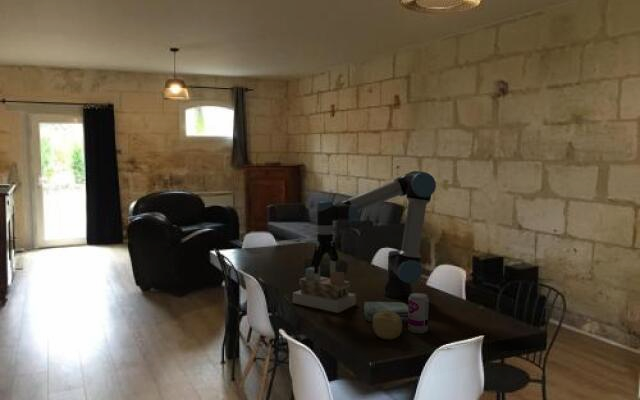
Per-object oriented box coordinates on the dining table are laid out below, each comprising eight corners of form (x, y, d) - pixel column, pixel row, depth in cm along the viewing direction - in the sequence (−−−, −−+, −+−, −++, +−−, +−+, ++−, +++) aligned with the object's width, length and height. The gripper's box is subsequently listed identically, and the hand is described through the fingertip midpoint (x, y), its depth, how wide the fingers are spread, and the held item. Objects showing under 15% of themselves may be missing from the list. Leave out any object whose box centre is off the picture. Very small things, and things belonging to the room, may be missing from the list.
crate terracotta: (344, 282, 245) (344, 272, 244) (338, 284, 241) (338, 274, 240) (335, 280, 247) (335, 271, 247) (330, 283, 243) (330, 273, 243)
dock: (355, 304, 249) (355, 294, 248) (338, 312, 235) (338, 301, 235) (311, 295, 263) (311, 285, 263) (292, 302, 250) (292, 292, 249)
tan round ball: (369, 339, 202) (370, 312, 201) (377, 329, 214) (377, 304, 213) (398, 343, 198) (399, 316, 197) (404, 333, 210) (405, 308, 209)
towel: (362, 309, 242) (362, 299, 242) (408, 310, 241) (408, 300, 241) (364, 322, 224) (364, 310, 224) (413, 323, 223) (413, 312, 223)
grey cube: (319, 278, 253) (319, 268, 252) (313, 279, 249) (313, 270, 248) (311, 276, 255) (311, 267, 255) (305, 278, 251) (305, 268, 251)
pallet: (349, 294, 247) (349, 281, 247) (337, 300, 238) (337, 286, 237) (312, 287, 259) (312, 274, 259) (299, 292, 250) (299, 279, 250)
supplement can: (416, 335, 208) (417, 298, 207) (403, 328, 215) (404, 293, 214) (431, 332, 212) (433, 296, 211) (419, 325, 219) (420, 291, 218)
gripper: (332, 229, 258) (332, 270, 260) (303, 236, 238) (303, 281, 240) (345, 230, 254) (345, 272, 256) (316, 237, 234) (317, 283, 236)
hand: (325, 276), depth 248 cm, fingers open, 13 cm apart
